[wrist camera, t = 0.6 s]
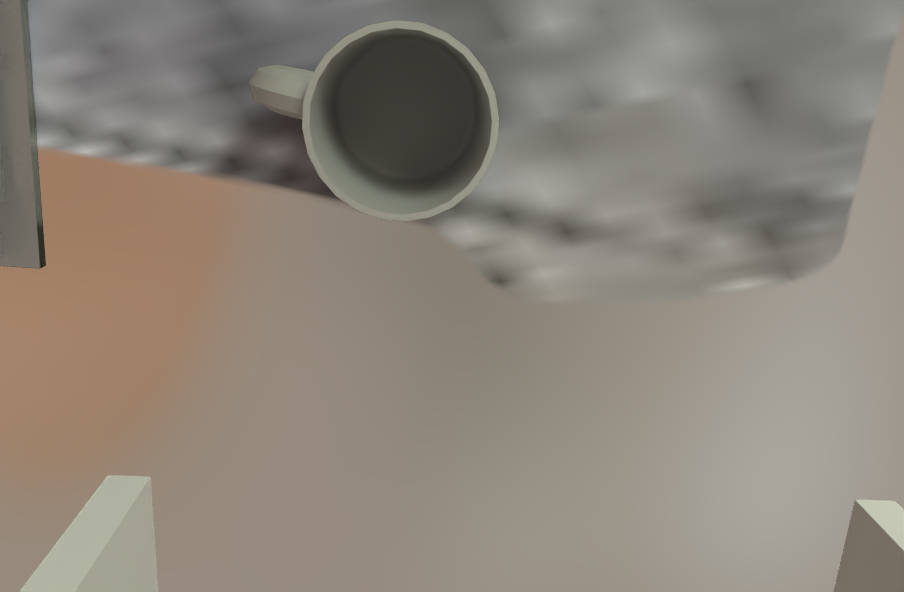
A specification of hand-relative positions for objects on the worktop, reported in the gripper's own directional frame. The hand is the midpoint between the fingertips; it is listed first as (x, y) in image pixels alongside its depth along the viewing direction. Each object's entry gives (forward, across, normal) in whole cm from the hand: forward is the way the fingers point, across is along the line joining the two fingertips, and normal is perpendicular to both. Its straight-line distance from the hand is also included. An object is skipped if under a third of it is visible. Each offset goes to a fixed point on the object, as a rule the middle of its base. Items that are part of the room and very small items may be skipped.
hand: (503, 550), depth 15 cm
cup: (+26, -4, +6) cm, 27 cm away
